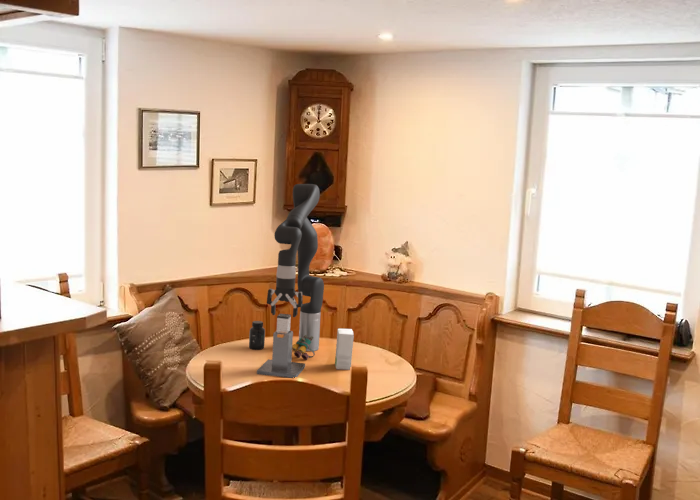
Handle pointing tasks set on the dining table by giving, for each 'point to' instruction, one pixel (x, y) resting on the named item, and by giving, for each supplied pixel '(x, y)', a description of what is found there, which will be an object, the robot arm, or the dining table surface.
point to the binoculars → (302, 347)
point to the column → (283, 323)
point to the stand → (281, 358)
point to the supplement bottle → (257, 336)
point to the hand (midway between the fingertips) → (283, 315)
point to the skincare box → (344, 349)
